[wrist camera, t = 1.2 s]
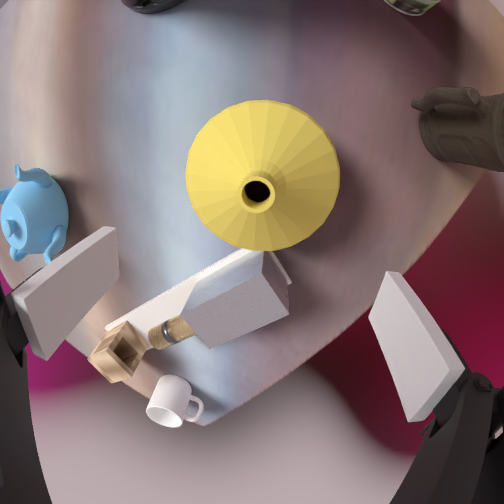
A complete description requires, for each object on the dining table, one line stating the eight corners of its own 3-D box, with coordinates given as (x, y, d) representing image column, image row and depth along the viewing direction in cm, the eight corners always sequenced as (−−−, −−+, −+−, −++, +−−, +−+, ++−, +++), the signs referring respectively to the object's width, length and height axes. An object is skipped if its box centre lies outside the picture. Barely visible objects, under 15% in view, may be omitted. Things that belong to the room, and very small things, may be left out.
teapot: (62, 149, 39) (14, 159, 28) (90, 241, 46) (50, 270, 35) (16, 181, 42) (-24, 196, 31) (42, 258, 49) (7, 283, 37)
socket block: (109, 328, 54) (87, 359, 44) (128, 318, 52) (105, 350, 42) (130, 351, 56) (111, 383, 46) (150, 342, 54) (131, 376, 44)
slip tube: (249, 273, 40) (246, 287, 36) (264, 294, 41) (263, 310, 37) (152, 323, 45) (144, 337, 42) (167, 339, 47) (160, 354, 43)
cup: (160, 369, 57) (146, 401, 48) (210, 385, 58) (201, 420, 48) (158, 388, 60) (145, 419, 51) (204, 403, 61) (196, 435, 51)
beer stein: (472, 112, 31) (550, 112, 13) (465, 170, 35) (543, 195, 17) (398, 81, 32) (464, 48, 14) (391, 144, 36) (459, 149, 18)
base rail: (106, 325, 54) (104, 327, 53) (263, 235, 43) (262, 237, 42) (132, 354, 56) (131, 356, 55) (291, 280, 46) (291, 283, 45)
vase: (255, 252, 44) (242, 328, 26) (178, 163, 39) (110, 184, 22) (351, 182, 39) (406, 217, 21) (273, 83, 34) (271, 37, 16)
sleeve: (197, 279, 47) (179, 314, 37) (264, 242, 43) (261, 273, 34) (221, 309, 49) (209, 348, 39) (287, 276, 45) (289, 314, 36)
